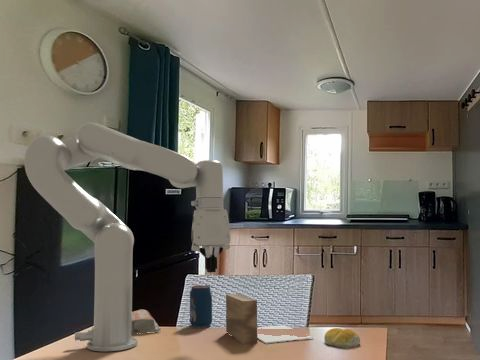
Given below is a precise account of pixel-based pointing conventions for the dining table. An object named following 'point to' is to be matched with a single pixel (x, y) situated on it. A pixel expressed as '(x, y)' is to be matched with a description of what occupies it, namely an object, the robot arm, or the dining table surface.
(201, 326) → the soda can
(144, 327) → the packaged product
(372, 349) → the dining table surface
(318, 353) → the dining table surface
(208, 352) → the dining table surface
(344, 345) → the bread roll
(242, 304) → the wooden block
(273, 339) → the mat
